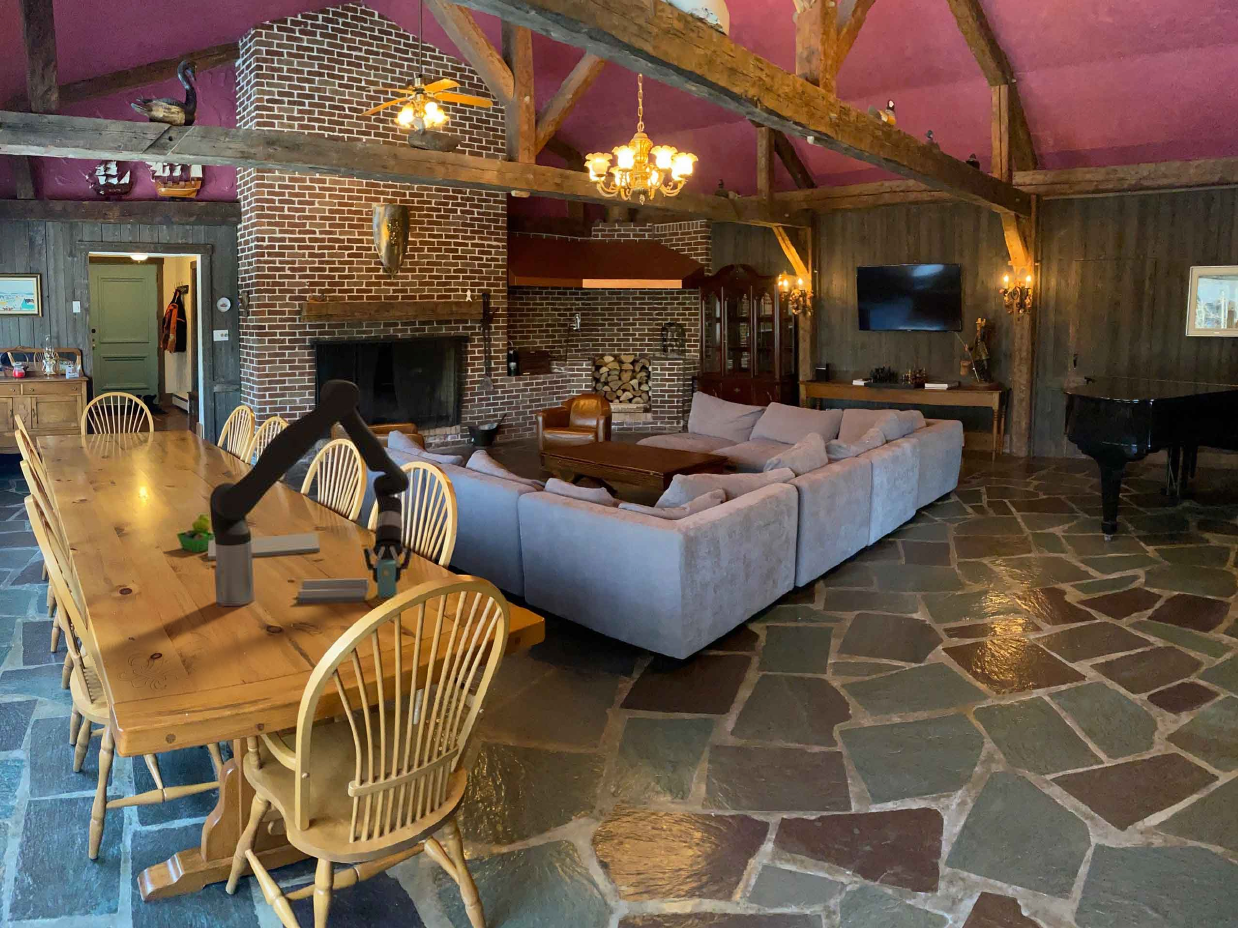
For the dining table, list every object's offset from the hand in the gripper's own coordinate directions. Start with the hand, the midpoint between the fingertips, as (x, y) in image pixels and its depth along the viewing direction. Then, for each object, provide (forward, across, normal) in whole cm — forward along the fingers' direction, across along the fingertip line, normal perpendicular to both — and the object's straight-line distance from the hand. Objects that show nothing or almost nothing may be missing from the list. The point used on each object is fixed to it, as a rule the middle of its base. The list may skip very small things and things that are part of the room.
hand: (386, 581), depth 268 cm
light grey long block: (-33, -44, +40) cm, 68 cm away
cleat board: (+1, -15, +6) cm, 16 cm away
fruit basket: (-38, -66, +45) cm, 88 cm away
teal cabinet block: (+2, 0, +5) cm, 5 cm away
